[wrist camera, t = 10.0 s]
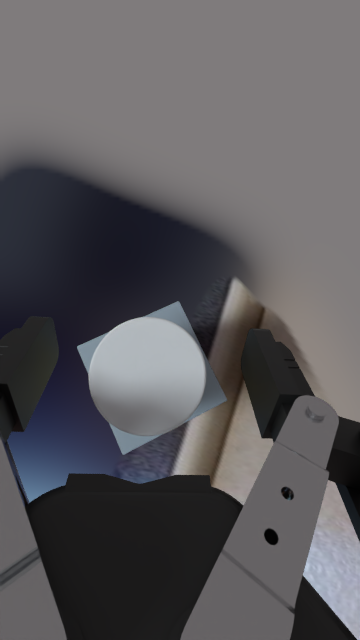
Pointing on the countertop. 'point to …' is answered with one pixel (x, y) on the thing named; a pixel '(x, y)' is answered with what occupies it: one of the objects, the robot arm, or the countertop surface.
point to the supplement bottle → (147, 376)
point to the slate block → (212, 388)
